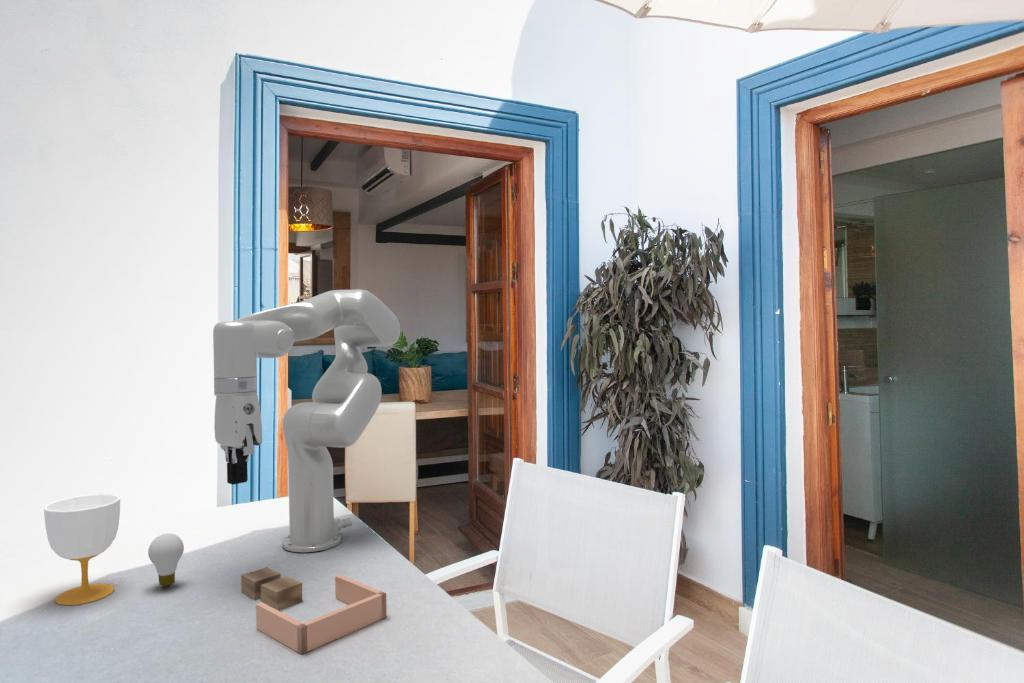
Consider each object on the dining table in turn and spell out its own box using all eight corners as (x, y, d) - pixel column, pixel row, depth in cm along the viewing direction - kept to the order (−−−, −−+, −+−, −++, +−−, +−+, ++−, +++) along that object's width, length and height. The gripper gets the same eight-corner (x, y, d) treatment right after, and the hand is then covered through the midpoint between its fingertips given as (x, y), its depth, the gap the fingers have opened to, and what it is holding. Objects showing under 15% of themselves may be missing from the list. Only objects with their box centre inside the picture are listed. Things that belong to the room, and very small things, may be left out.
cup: (131, 593, 119) (129, 501, 119) (54, 615, 111) (52, 515, 110) (111, 577, 127) (109, 490, 127) (38, 595, 119) (36, 502, 118)
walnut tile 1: (267, 585, 123) (266, 567, 123) (280, 592, 120) (280, 573, 120) (241, 593, 119) (241, 574, 119) (254, 601, 116) (254, 581, 116)
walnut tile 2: (286, 595, 119) (286, 576, 119) (302, 602, 116) (302, 582, 115) (260, 604, 115) (260, 584, 115) (276, 612, 112) (276, 592, 112)
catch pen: (340, 596, 117) (339, 574, 117) (386, 616, 109) (386, 593, 109) (256, 628, 105) (256, 604, 105) (301, 654, 97) (301, 627, 97)
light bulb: (169, 594, 119) (168, 540, 119) (141, 592, 120) (140, 538, 120) (191, 582, 125) (190, 530, 124) (164, 579, 126) (163, 528, 125)
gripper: (274, 387, 122) (276, 484, 122) (235, 383, 131) (237, 473, 132) (236, 390, 116) (237, 492, 117) (197, 385, 126) (199, 480, 126)
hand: (237, 482), depth 124 cm, fingers closed
